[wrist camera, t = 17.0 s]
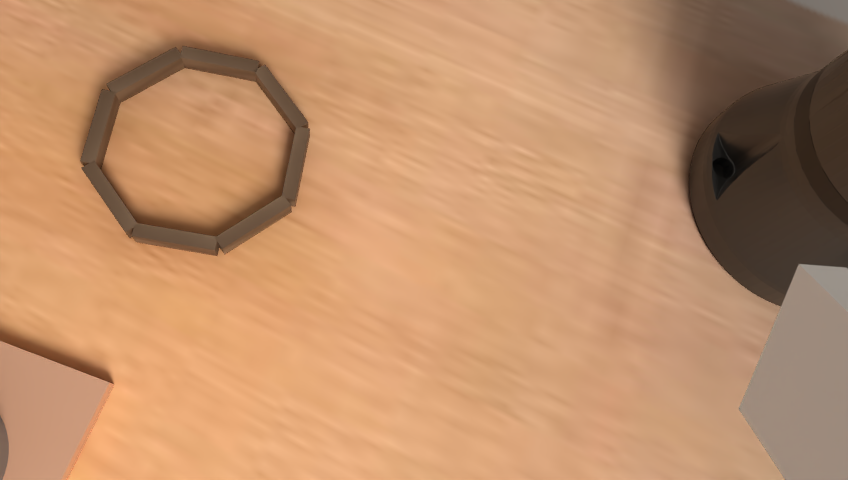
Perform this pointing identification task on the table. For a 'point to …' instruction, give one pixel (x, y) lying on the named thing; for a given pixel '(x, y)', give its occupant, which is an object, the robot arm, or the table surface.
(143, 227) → the walnut collar
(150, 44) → the table surface
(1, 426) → the grey canister
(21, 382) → the terracotta tile
